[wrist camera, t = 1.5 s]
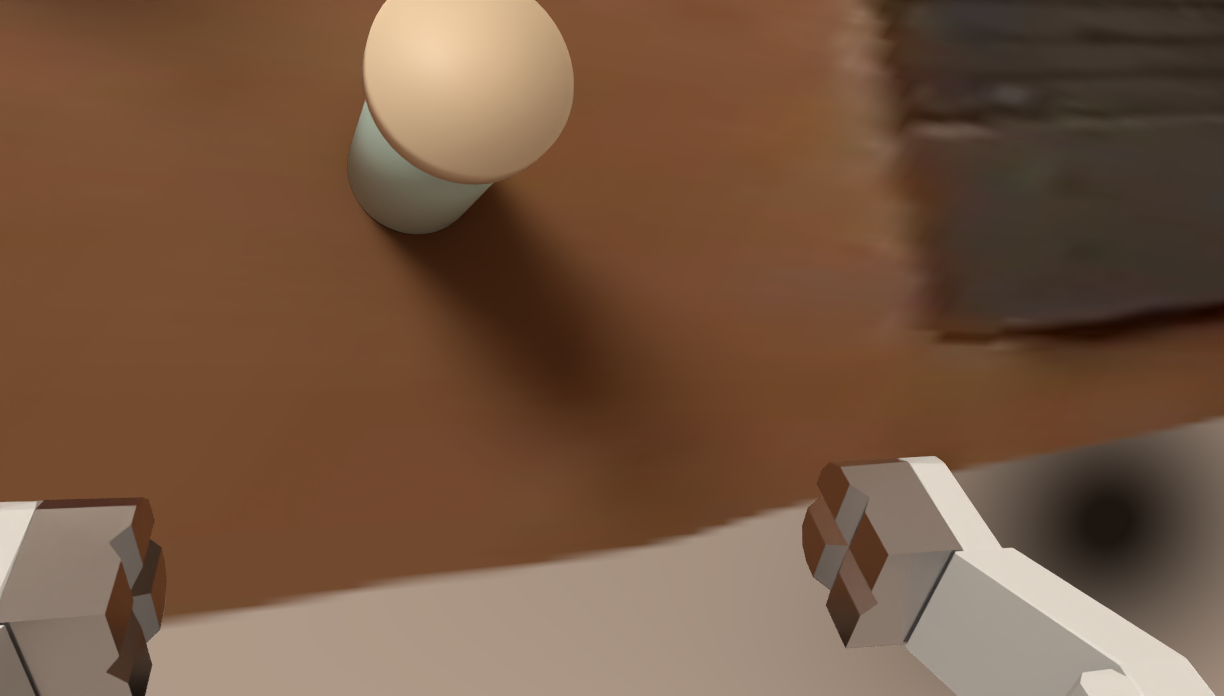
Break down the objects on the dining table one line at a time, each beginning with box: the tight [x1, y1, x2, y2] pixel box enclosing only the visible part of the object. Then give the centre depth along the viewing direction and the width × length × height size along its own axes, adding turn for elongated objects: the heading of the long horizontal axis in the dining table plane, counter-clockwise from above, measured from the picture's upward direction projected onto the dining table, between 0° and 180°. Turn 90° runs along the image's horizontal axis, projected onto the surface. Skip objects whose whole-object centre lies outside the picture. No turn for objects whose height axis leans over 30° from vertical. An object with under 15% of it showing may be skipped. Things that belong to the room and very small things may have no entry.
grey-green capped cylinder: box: [347, 0, 574, 234], centre depth 28 cm, size 5×5×10 cm
